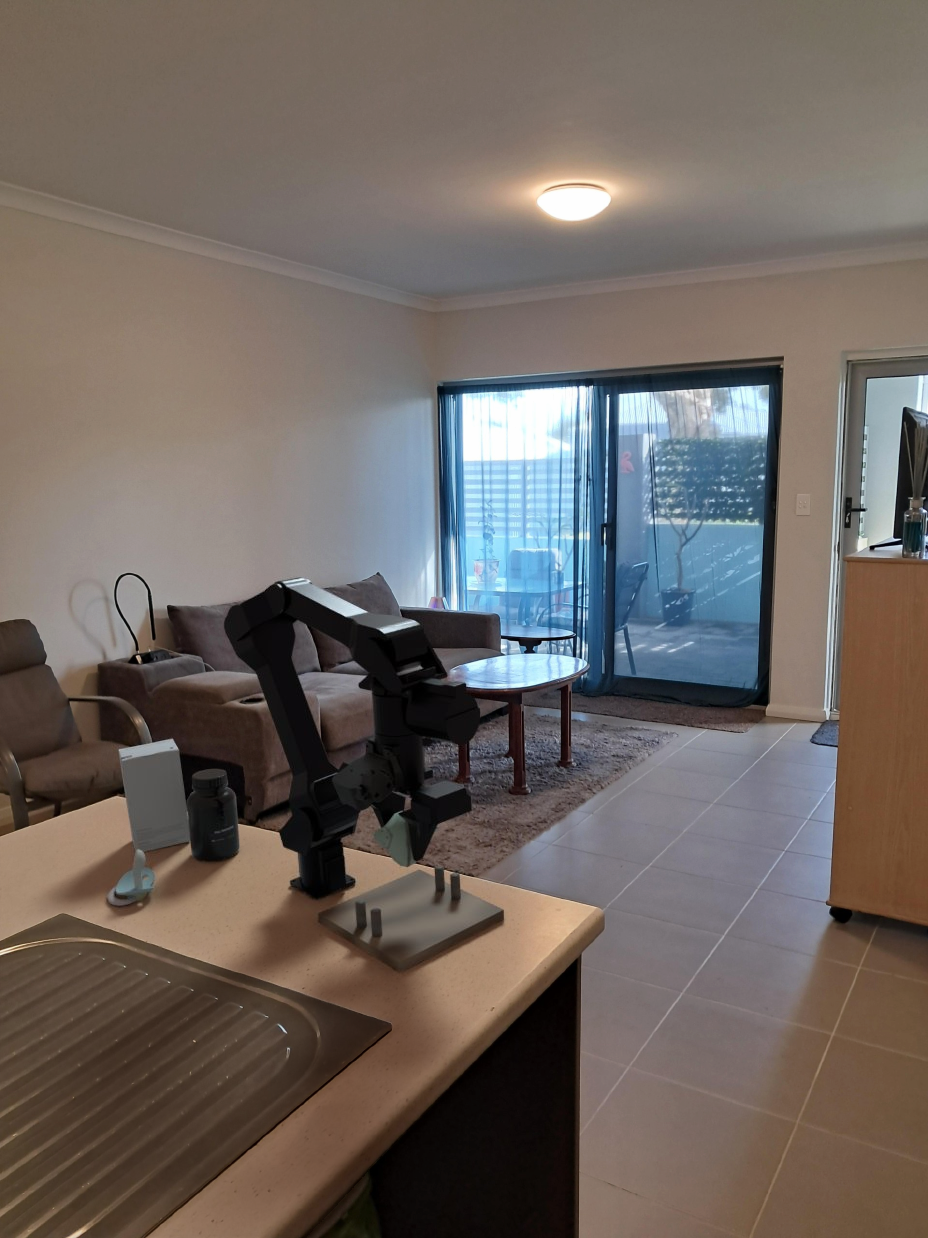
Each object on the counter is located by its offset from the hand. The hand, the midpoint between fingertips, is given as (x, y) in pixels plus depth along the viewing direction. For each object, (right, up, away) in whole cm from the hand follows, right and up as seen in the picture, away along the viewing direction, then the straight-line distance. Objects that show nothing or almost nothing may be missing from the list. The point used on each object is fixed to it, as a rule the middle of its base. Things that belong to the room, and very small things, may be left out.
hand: (405, 854), depth 112 cm
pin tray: (+1, -8, +2) cm, 9 cm away
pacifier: (-37, -9, +12) cm, 40 cm away
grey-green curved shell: (0, -2, 0) cm, 2 cm away
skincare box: (-38, -5, +28) cm, 48 cm away
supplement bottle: (-29, -6, +23) cm, 38 cm away
